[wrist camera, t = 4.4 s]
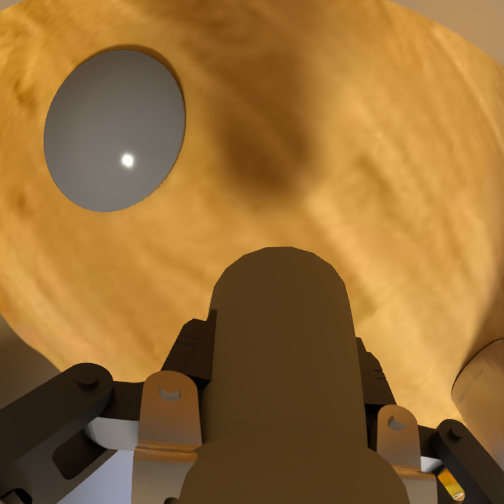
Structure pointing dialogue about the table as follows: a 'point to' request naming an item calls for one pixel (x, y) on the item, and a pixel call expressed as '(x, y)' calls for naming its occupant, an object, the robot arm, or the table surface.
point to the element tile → (451, 484)
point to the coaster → (114, 130)
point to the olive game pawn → (285, 392)
